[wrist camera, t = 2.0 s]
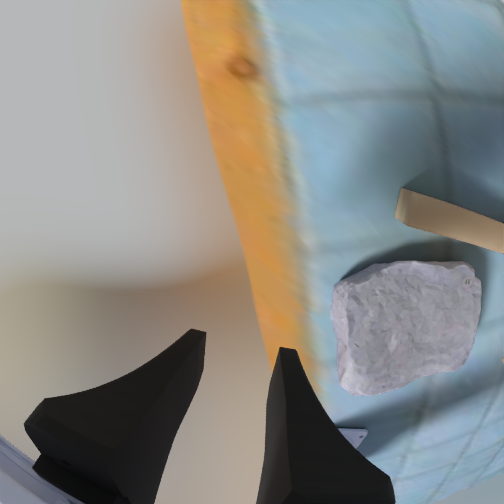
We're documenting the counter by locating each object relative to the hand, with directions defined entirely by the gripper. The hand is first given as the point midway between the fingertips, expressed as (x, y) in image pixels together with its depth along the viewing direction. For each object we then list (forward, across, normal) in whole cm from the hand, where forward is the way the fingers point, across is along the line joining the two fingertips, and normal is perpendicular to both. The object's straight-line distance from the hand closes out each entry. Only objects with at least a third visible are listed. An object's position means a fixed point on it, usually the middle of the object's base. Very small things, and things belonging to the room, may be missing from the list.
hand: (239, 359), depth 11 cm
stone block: (+10, -11, +1) cm, 15 cm away
